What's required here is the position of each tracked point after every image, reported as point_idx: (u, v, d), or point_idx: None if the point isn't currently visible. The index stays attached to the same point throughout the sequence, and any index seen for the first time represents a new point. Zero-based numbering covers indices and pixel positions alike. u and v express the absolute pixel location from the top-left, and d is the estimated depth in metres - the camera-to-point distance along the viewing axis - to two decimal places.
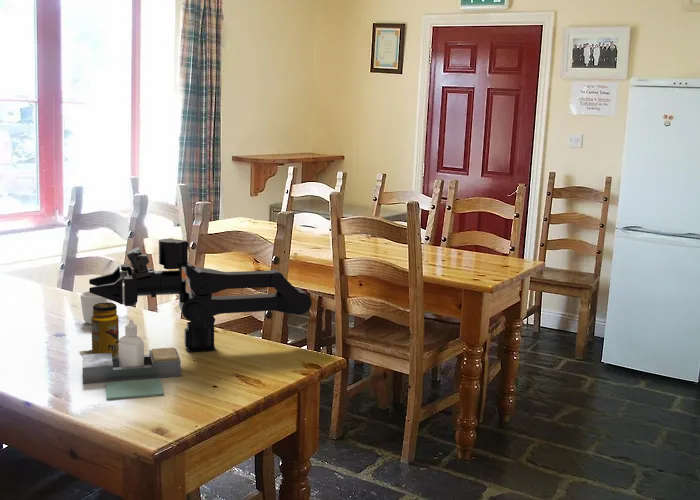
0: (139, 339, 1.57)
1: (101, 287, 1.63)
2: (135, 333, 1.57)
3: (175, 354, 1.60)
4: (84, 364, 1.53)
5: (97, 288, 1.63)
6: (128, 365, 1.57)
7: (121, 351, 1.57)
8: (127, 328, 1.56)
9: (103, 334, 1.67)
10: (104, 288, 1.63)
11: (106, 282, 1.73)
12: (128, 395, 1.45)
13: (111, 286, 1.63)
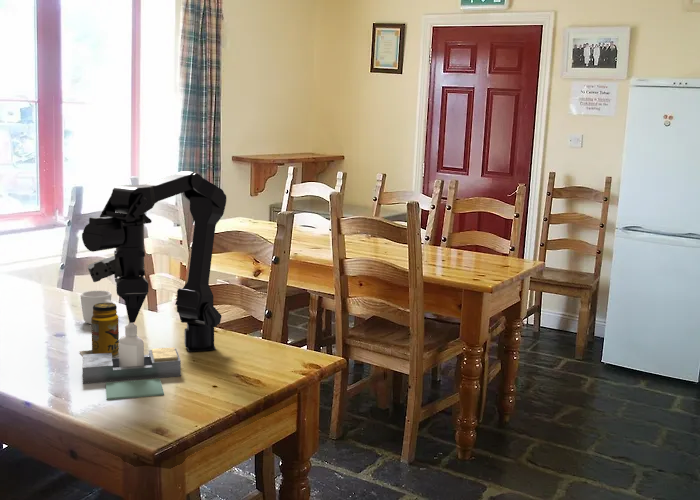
0: (139, 339, 1.57)
1: (128, 311, 1.51)
2: (135, 333, 1.57)
3: (175, 354, 1.60)
4: (84, 364, 1.53)
5: (129, 315, 1.52)
6: (128, 365, 1.57)
7: (121, 351, 1.57)
8: (127, 328, 1.56)
9: (103, 334, 1.67)
10: (129, 308, 1.51)
11: None
12: (128, 395, 1.45)
13: (127, 302, 1.50)
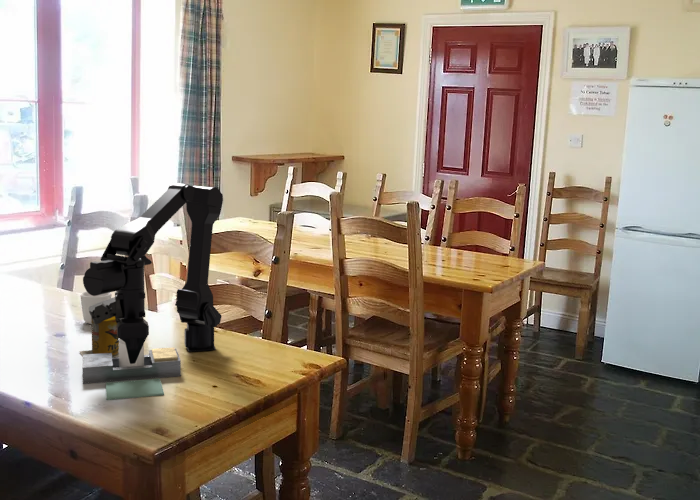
0: None
1: (128, 352, 1.53)
2: None
3: (175, 354, 1.60)
4: (84, 364, 1.53)
5: (130, 356, 1.53)
6: (128, 365, 1.57)
7: (121, 351, 1.57)
8: None
9: (103, 334, 1.67)
10: (130, 350, 1.53)
11: None
12: (128, 395, 1.45)
13: (128, 344, 1.52)
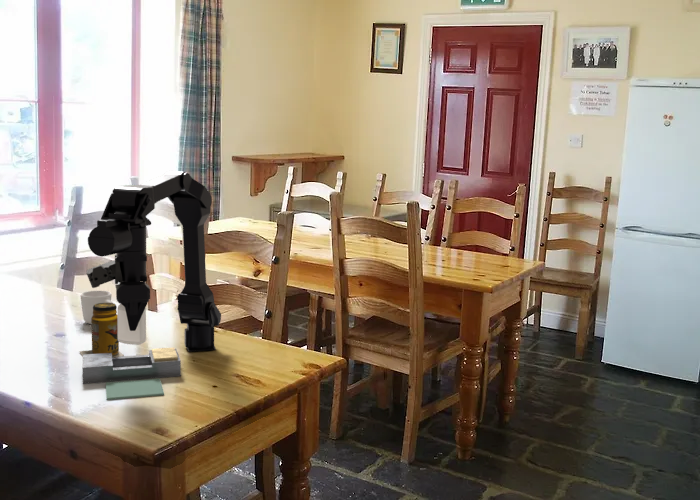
0: None
1: (128, 318, 1.43)
2: None
3: (175, 354, 1.60)
4: (84, 364, 1.53)
5: (130, 323, 1.43)
6: (130, 333, 1.46)
7: (121, 318, 1.47)
8: None
9: (103, 334, 1.67)
10: (130, 315, 1.42)
11: None
12: (128, 395, 1.45)
13: (128, 309, 1.41)
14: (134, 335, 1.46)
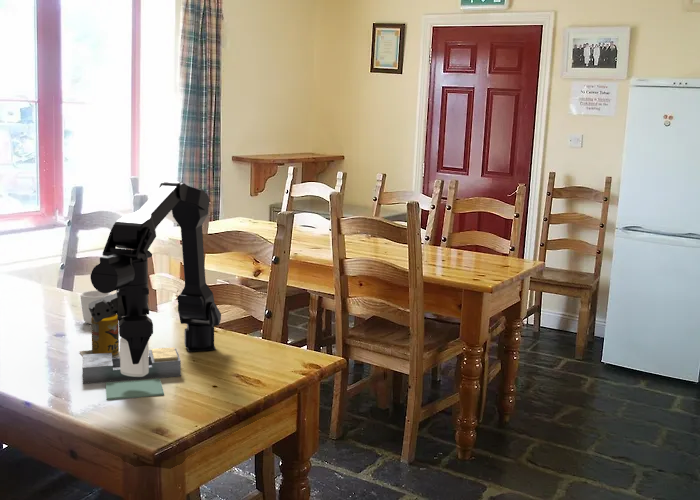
0: None
1: (131, 352, 1.43)
2: None
3: (175, 354, 1.60)
4: (84, 364, 1.53)
5: (133, 356, 1.43)
6: (132, 366, 1.47)
7: (124, 351, 1.47)
8: None
9: (103, 334, 1.67)
10: (133, 349, 1.42)
11: None
12: (128, 395, 1.45)
13: (130, 343, 1.42)
14: (137, 367, 1.47)
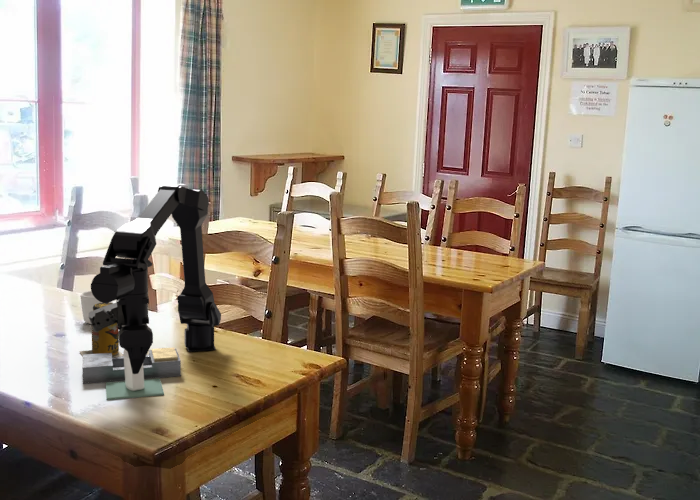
0: None
1: (131, 362, 1.43)
2: None
3: (175, 354, 1.60)
4: (84, 364, 1.53)
5: (133, 366, 1.43)
6: (127, 378, 1.48)
7: None
8: None
9: (103, 334, 1.67)
10: (133, 359, 1.42)
11: None
12: (128, 395, 1.45)
13: (130, 353, 1.42)
14: (129, 381, 1.47)
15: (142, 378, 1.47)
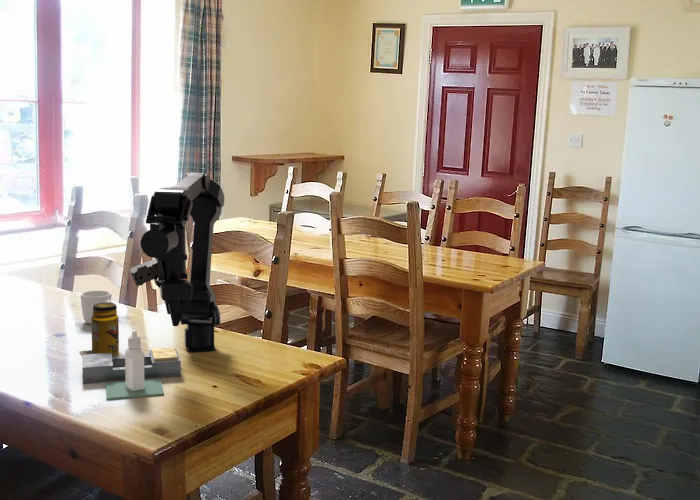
0: (138, 352, 1.46)
1: (171, 315, 1.51)
2: (136, 345, 1.47)
3: (175, 354, 1.60)
4: (84, 364, 1.53)
5: (173, 319, 1.51)
6: (127, 378, 1.48)
7: (125, 362, 1.49)
8: (128, 339, 1.47)
9: (103, 334, 1.67)
10: (173, 312, 1.50)
11: None
12: (128, 395, 1.45)
13: (171, 306, 1.49)
14: (129, 381, 1.47)
15: (143, 379, 1.47)
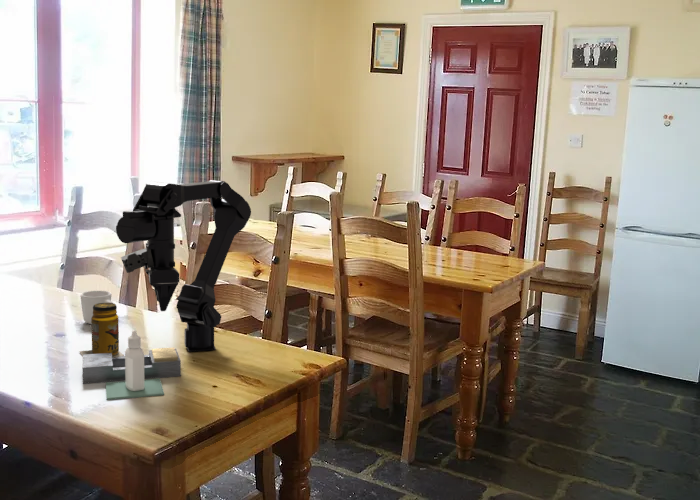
0: (138, 352, 1.46)
1: (159, 300, 1.60)
2: (136, 345, 1.47)
3: (175, 354, 1.60)
4: (84, 364, 1.53)
5: (161, 304, 1.60)
6: (127, 378, 1.48)
7: (125, 362, 1.49)
8: (128, 339, 1.47)
9: (103, 334, 1.67)
10: (161, 297, 1.60)
11: None
12: (128, 395, 1.45)
13: (159, 292, 1.59)
14: (129, 381, 1.47)
15: (143, 379, 1.47)
